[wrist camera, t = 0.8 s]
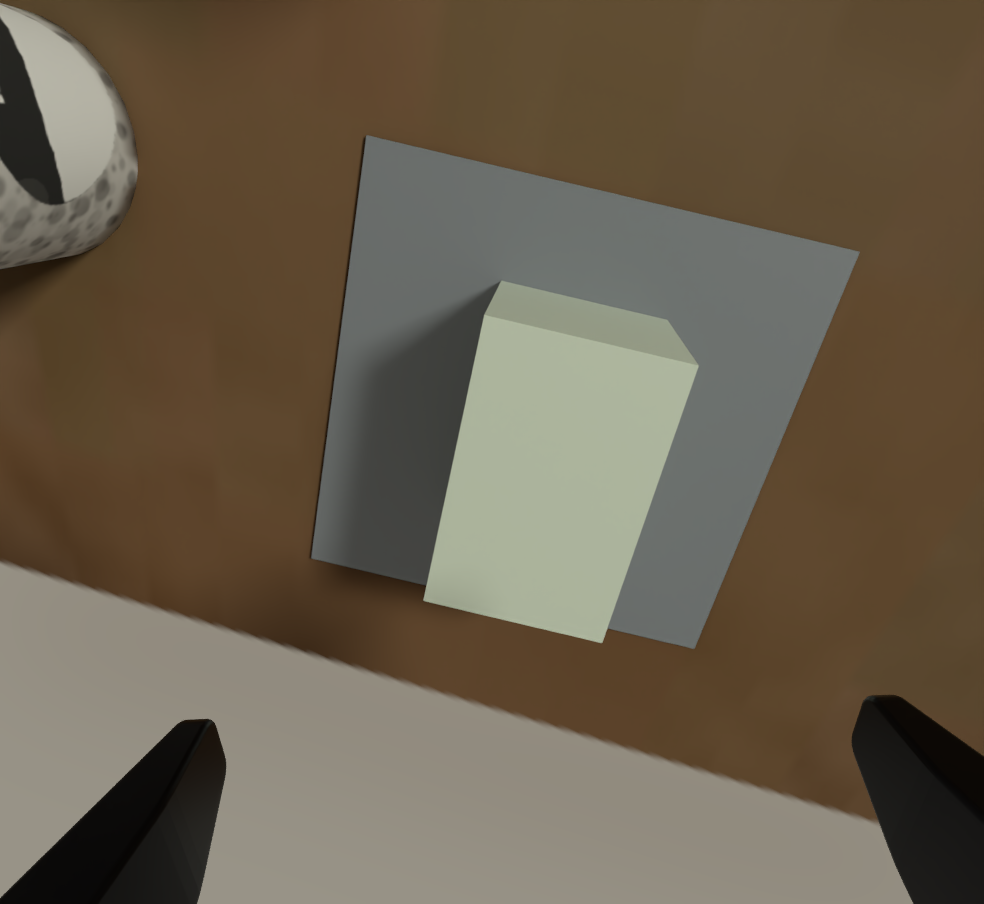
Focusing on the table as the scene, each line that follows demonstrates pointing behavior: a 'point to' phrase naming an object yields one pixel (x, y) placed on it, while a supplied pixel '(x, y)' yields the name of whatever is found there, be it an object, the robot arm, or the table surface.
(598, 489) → the sage block
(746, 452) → the tile
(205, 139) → the table surface
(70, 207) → the mug
